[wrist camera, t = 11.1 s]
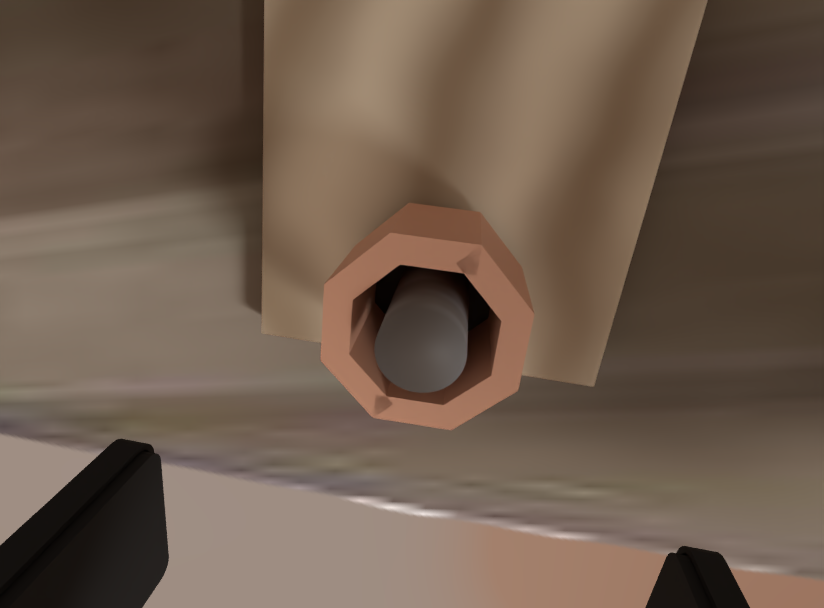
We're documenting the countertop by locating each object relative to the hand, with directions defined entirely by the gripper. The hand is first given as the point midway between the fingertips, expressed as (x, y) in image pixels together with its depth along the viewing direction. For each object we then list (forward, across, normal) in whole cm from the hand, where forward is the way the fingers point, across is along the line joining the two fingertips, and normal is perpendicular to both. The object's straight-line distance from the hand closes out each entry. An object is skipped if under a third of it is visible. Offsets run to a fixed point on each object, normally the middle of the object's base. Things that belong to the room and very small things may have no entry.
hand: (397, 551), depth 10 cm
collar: (+14, +1, 0) cm, 14 cm away
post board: (+16, +1, -6) cm, 17 cm away
